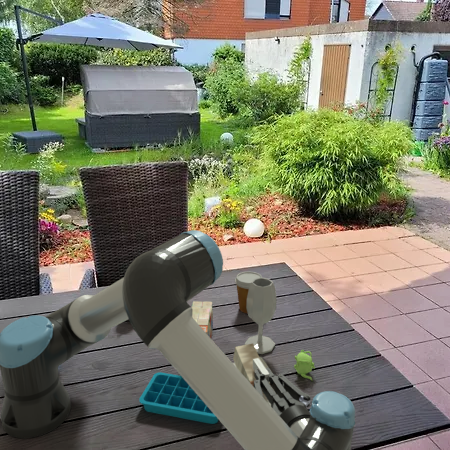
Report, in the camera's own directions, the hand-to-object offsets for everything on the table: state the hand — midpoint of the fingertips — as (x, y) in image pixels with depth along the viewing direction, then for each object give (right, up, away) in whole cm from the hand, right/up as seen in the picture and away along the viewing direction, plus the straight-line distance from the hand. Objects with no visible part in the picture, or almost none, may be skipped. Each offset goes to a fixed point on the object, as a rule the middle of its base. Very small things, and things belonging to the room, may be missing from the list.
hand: (255, 363), depth 112 cm
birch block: (+1, -6, 0) cm, 6 cm away
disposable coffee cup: (0, +6, +41) cm, 41 cm away
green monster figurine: (+14, -6, +9) cm, 17 cm away
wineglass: (+3, -1, +21) cm, 21 cm away
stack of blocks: (-15, -2, +20) cm, 25 cm away
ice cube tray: (-17, -9, -2) cm, 20 cm away
